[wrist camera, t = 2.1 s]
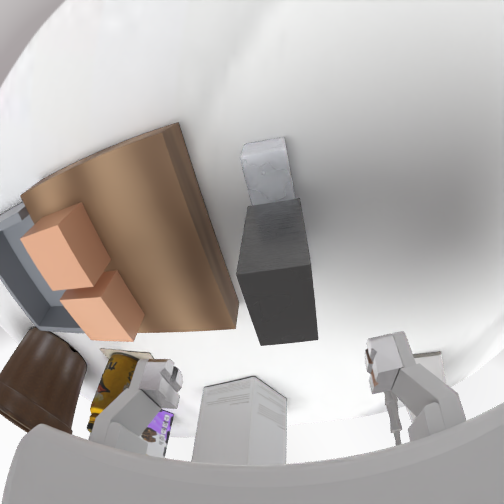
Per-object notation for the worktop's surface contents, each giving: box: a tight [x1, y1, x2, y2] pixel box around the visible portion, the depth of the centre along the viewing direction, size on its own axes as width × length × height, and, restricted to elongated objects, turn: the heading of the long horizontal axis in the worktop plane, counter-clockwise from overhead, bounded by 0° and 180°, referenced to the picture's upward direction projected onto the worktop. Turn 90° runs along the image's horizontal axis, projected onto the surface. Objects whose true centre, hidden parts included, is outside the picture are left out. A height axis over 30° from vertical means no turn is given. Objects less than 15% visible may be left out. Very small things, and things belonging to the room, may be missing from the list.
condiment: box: [87, 349, 154, 432], centre depth 30 cm, size 7×8×12 cm
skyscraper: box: [384, 352, 446, 446], centre depth 20 cm, size 8×8×28 cm
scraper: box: [236, 137, 318, 346], centre depth 16 cm, size 3×11×9 cm, turn 13°
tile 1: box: [60, 270, 145, 342], centre depth 20 cm, size 5×5×3 cm
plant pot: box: [0, 328, 87, 435], centre depth 30 cm, size 16×16×16 cm
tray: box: [0, 202, 85, 333], centre depth 23 cm, size 11×14×4 cm
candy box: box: [89, 410, 174, 458], centre depth 38 cm, size 14×6×16 cm, turn 57°
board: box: [20, 122, 239, 333], centre depth 21 cm, size 14×16×3 cm
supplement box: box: [191, 377, 287, 465], centre depth 31 cm, size 9×9×15 cm
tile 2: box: [20, 202, 111, 291], centre depth 17 cm, size 5×5×3 cm
